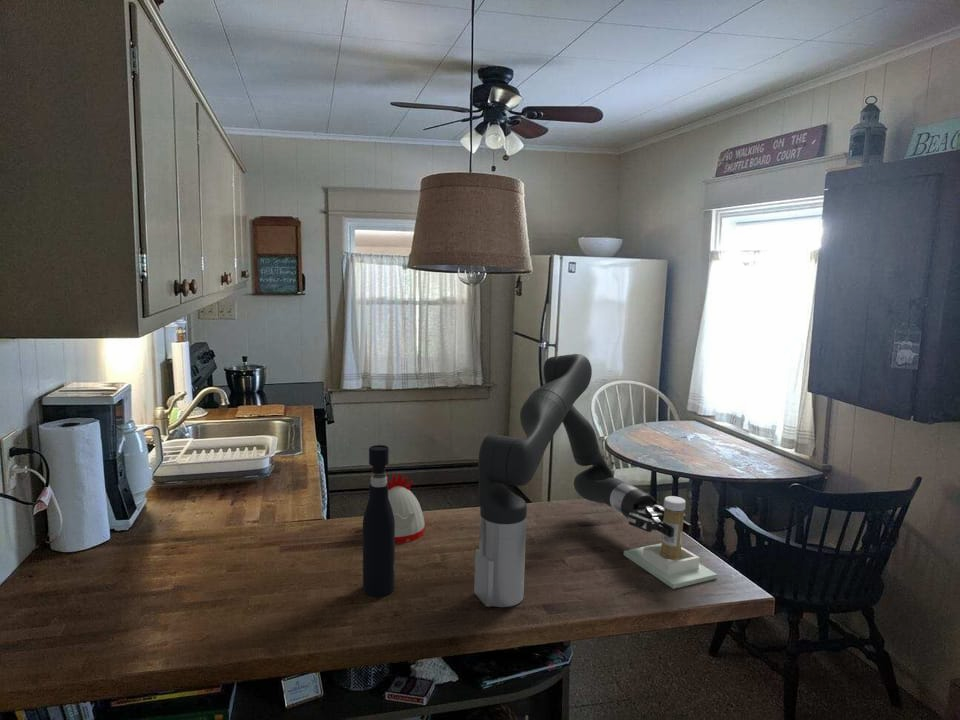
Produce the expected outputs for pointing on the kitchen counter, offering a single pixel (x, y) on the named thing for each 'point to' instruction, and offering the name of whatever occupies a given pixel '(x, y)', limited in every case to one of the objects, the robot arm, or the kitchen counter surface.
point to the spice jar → (673, 518)
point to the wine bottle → (378, 530)
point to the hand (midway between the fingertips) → (681, 531)
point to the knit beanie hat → (405, 510)
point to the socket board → (671, 566)
